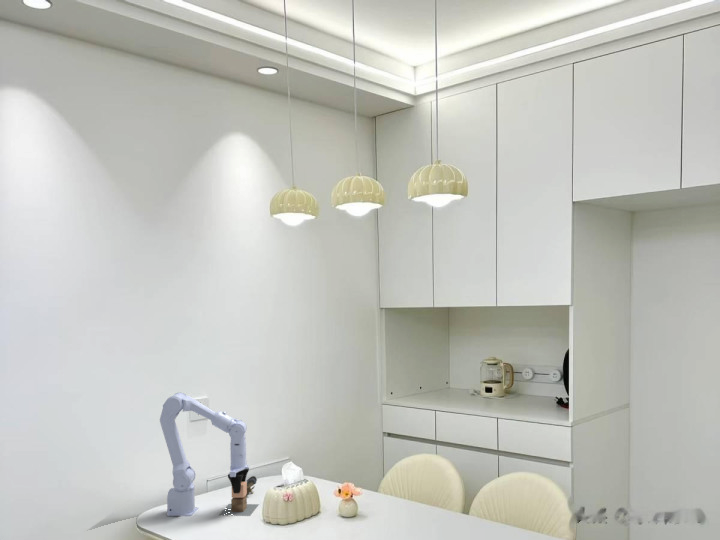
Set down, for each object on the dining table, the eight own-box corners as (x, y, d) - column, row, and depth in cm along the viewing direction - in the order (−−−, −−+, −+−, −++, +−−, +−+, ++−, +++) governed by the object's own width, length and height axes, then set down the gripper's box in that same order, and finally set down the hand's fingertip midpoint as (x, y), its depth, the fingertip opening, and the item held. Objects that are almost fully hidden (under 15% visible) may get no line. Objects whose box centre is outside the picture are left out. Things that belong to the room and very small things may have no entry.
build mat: (218, 516, 222) (218, 515, 222) (228, 504, 234) (228, 503, 234) (250, 516, 220) (250, 515, 220) (259, 505, 232) (259, 504, 232)
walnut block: (231, 511, 225) (231, 499, 225) (235, 507, 229) (235, 495, 230) (243, 511, 225) (243, 499, 225) (246, 507, 229) (246, 495, 229)
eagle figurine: (260, 493, 242) (261, 482, 251) (250, 480, 241) (251, 469, 250) (244, 504, 242) (245, 493, 251) (234, 491, 240) (235, 480, 249)
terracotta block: (231, 497, 225) (231, 485, 225) (235, 493, 230) (235, 481, 230) (243, 497, 225) (243, 485, 225) (246, 493, 229) (246, 481, 229)
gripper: (242, 459, 220) (243, 497, 220) (254, 449, 235) (254, 484, 234) (224, 459, 221) (224, 497, 220) (236, 449, 235) (237, 484, 235)
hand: (238, 490), depth 227 cm, fingers closed on terracotta block, 4 cm apart
